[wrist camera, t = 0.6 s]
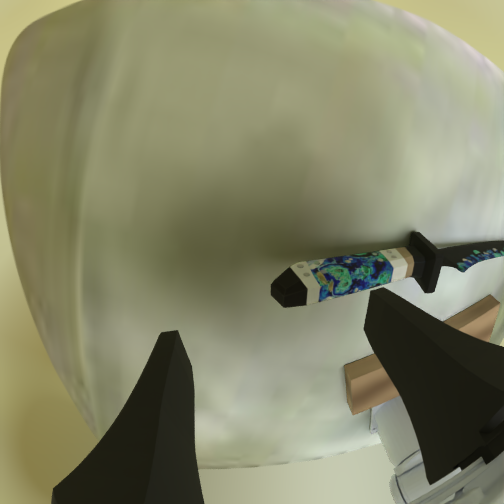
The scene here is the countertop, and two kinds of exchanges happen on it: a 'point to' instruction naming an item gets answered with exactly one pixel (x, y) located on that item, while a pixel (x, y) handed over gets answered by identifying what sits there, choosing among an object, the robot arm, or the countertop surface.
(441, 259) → the knife
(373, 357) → the walnut board
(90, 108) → the countertop surface
